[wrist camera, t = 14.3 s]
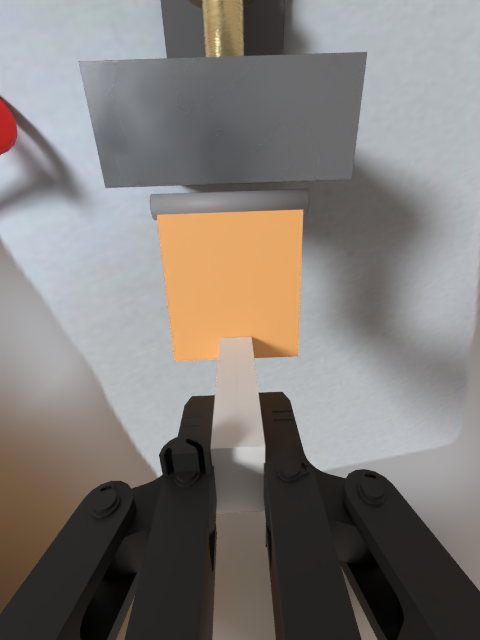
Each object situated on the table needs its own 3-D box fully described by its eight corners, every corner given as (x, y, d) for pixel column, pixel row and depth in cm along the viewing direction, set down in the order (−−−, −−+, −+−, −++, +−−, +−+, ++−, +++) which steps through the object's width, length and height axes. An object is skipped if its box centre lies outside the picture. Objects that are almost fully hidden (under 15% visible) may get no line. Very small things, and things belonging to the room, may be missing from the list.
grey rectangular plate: (162, 121, 23) (78, 60, 10) (292, 117, 23) (367, 52, 10) (169, 179, 25) (105, 187, 12) (290, 174, 25) (351, 178, 12)
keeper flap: (148, 193, 12) (170, 362, 14) (309, 187, 12) (302, 357, 14) (154, 195, 13) (174, 353, 15) (304, 189, 13) (298, 348, 15)
